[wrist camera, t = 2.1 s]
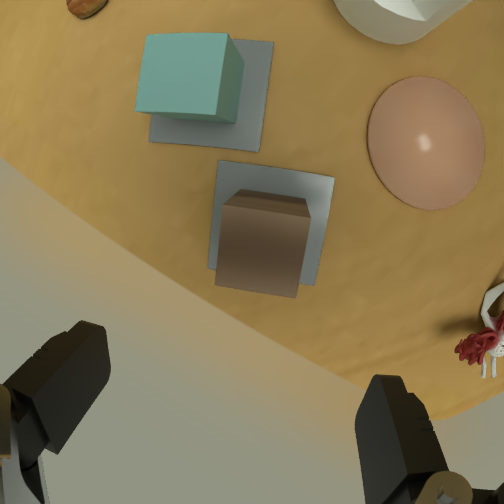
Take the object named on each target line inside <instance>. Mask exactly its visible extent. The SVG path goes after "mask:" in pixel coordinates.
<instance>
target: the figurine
mask: <svg viewBox="0 0 504 504" xmlns="http://www.w3.org/2000/svg"><path fill="white" fill-rule="evenodd" d="M503 291H504V282H503V283H501V284H499V285H498V286H496V287H494V288H492V289H490V290H489V291H487V292H486V294H485V298H484V301H483V305H482V309H481V316H482V319H483V321H484V324H485V326H486V328H484V329H483V330H482V331H480V332H479V333H477V334H470V335H469V336H468V337H467V339H464V341H463V343H462V339H461V341H460V343H459V344H458V345H457V346H456V347H455V353H460V355H459V360H460V361H463V360H464V359H465V358H466V359H467V360H469V361H468V364H469V365H472V364H474V363H475V362H476V361H477V363H478V364H479V365H481V364H482V373H481V378H485V374H486V367H487V366H486V362H485V357H484V354H485V352H486V351H487V352H488V353H489V354H490V355H492V356H491V372H492V375H491V378H492V377H495V376H496V357H502V356H503V355H504V314H503V313H504V310H503V311H502V312H501V314H500V315H499V316H498V317H490V316H489V314H488V312H487V310H488V309H489V307H490V306H491V304H492V303H493V302H494V301H495V300H496V298H497V297H498V296H499V295H500V294H501V293H502V292H503ZM501 316H502V317H501ZM500 318H501V319H500ZM499 319H500V320H499ZM498 321H499V322H498Z"/></svg>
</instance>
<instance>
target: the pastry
mask: <svg viewBox="0 0 504 504" xmlns="http://www.w3.org/2000/svg"><path fill="white" fill-rule="evenodd" d="M66 1H67V5H68V10H69V11H70V12H71V13H72V14H74V15H76V16H77V17H78V18H85V17H88V16H91V15H92V14H94V13H95V12H97V11H98V10H99V9H101V8H102V7H103V6H104V5H105V3H106V2H107V0H66Z"/></svg>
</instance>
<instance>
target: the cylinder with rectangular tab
mask: <svg viewBox="0 0 504 504" xmlns="http://www.w3.org/2000/svg"><path fill="white" fill-rule="evenodd" d="M472 1H473V0H334V3H335V5H336V7H337V9H338V10H339V12H340V14H341V15H342V16H343V18H344V19H345V20H346V21H347V22H348V23H349V24H350V25H351V26H352V27H354V28H355V29H357V30H358V31H359V32H361V33H362V34H364V35H366V36H368V37H370V38H372V39H374V40H376V41H380V42H384V43H388V44H401V45H403V44H408V43H412V42H415V41H417V40H419V39H420V38H422V37H424V36H425V35H426V34H428V33H429V32H430V31H432V30H433V29H434V28H436V27H437V26H438V25H440V24H441V23H442V22H444V21H445V20H447V19H448V18H449V17H451V16H452V15H453V14H455V13H456V12H458V11H459V10H460V9H462V8H463V7H465V6H466V5H467V4H469V3H470V2H472Z"/></svg>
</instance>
